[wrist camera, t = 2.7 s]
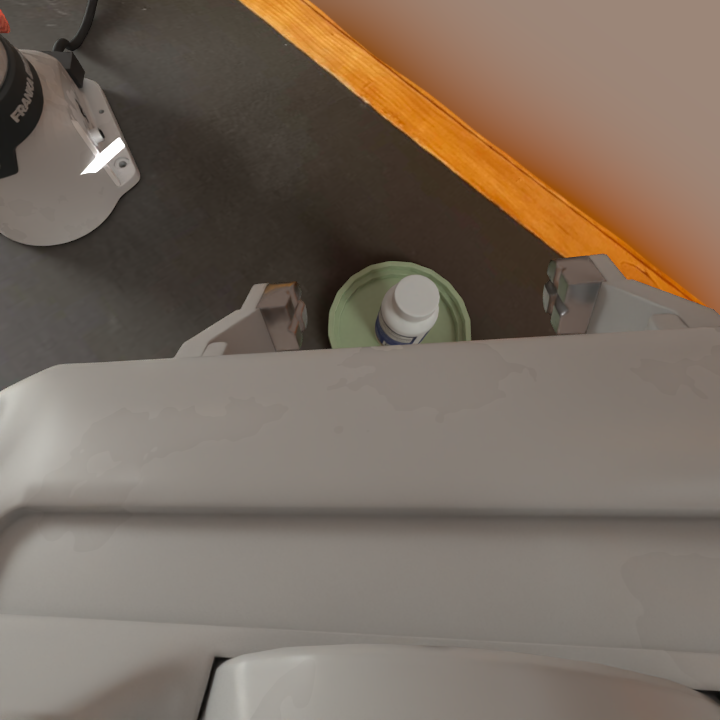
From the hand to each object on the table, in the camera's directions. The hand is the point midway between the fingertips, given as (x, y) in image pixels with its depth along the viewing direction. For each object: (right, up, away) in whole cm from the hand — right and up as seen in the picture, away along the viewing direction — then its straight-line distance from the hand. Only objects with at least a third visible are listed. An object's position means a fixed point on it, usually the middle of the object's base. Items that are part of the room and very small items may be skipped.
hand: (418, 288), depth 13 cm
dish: (+2, +1, +30) cm, 30 cm away
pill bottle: (+2, +1, +30) cm, 30 cm away
